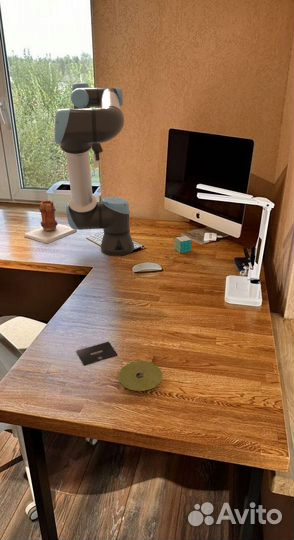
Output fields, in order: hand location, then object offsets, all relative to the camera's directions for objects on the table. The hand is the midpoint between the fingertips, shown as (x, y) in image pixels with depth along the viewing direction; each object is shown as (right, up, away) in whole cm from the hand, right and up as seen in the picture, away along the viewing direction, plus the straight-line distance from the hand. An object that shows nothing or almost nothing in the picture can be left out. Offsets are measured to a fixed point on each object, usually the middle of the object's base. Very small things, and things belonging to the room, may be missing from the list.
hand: (86, 165), depth 194 cm
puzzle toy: (+46, -42, -13) cm, 64 cm away
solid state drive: (+15, -75, -80) cm, 111 cm away
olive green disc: (+28, -79, -91) cm, 124 cm away
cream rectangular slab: (-18, -33, +6) cm, 38 cm away
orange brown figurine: (-18, -32, +4) cm, 37 cm away
